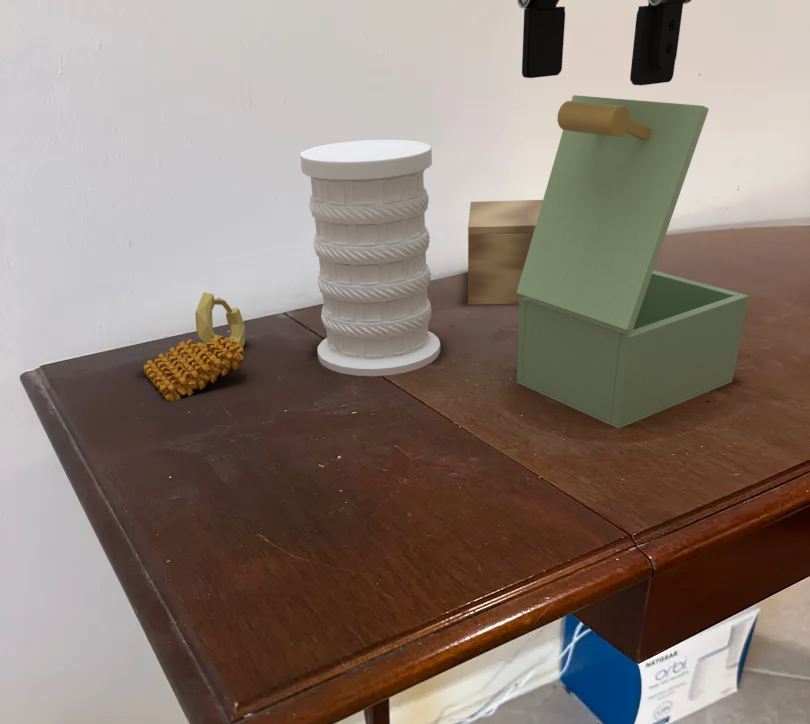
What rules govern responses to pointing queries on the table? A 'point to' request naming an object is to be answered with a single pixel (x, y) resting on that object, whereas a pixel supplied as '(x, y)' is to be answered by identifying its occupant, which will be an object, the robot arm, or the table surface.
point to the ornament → (200, 354)
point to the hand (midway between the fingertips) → (593, 79)
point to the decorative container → (372, 255)
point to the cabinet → (499, 248)
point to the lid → (609, 204)
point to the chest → (633, 351)
